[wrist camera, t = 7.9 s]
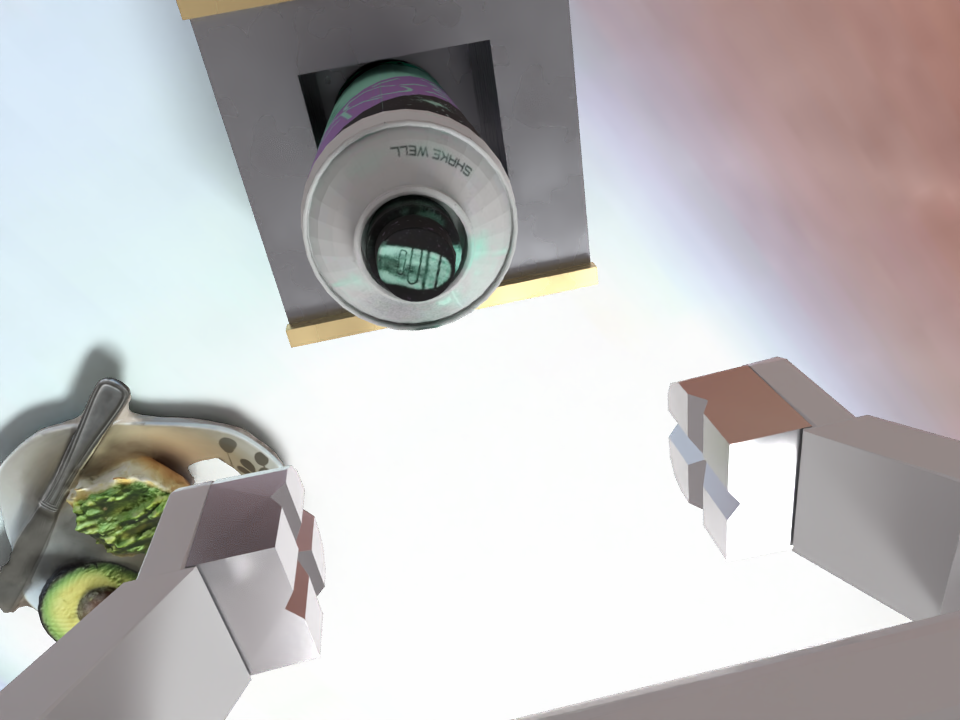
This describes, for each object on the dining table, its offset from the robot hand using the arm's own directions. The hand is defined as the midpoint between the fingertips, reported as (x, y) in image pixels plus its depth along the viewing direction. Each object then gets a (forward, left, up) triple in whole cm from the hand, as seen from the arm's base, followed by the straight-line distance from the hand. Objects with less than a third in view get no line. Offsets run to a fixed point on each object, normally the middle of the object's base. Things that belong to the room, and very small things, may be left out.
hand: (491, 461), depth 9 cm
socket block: (0, 0, -28) cm, 28 cm away
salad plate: (+20, +21, -28) cm, 41 cm away
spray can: (0, 0, -27) cm, 27 cm away
